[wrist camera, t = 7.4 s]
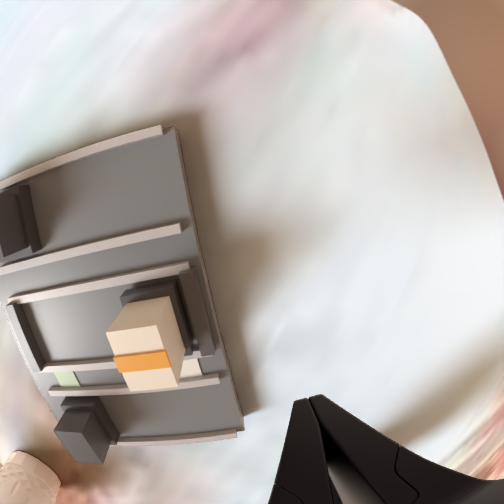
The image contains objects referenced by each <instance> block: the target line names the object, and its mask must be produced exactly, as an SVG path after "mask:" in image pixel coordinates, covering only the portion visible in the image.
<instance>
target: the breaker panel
mask: <svg viewBox="0 0 504 504" xmlns="http://www.w3.org/2000/svg"><path fill="white" fill-rule="evenodd" d="M175 280H176V281H177V284H178V288H179V292H180V296H181V300H182V303H183V307H184V311H185V314H186V318H187V321H188V325H189V328H190V332H191V335H192V339H193V342H194V349H193V355H190V356H184V359H183V364H182V369H181V374H180V379H179V385H178V387H173V388H164V389H154V390H143V391H131V392H130V390H129V388H128V386H127V383H126V381H125V379H124V377H123V374H122V373H119V371H118V369H117V367H116V364H115V362H114V359H113V357H114V356H115V355H114V353H113V350H112V348H111V345H110V343H109V340H108V338H107V335H106V331H107V330H108V328H109V327H110V326H111V324H112V323H113V321H114V320H115V319H116V317H117V316H118V315H119V313H120V312H121V310H122V309H123V307H122V304H121V300H120V296H121V295H122V294H123V292H124V291H125V290H126V289H132V288H137V287H143V286H148V285H153V284H159V283H164V282H169V281H175ZM0 303H1V306H2V309H3V311H4V314H5V317H6V319H7V322H8V324H9V327H10V329H11V332H12V334H13V337H14V339H15V341H16V344H17V346H18V348H19V350H20V353H21V355H22V357H23V359H24V361H25V363H26V365H27V367H28V369H29V371H30V373H31V375H32V377H33V379H34V381H35V383H36V385H37V387H38V389H39V391H40V392H41V394H42V396H43V398H44V399H45V401H46V403H47V405H48V406H49V408H50V410H51V411H52V413H53V415H54V416H55V418H56V420H57V421H58V424H57V426H56V427H55V429H54V432H55V434H56V435H57V437H58V438H59V440H60V441H61V442H62V444H63V445H64V447H65V448H66V449H67V451H68V452H69V454H70V455H71V456H72V458H73V459H74V460H75V462H82V463H93V464H103V463H104V460H105V457H106V454H107V451H108V448H109V446H156V445H175V444H188V443H199V442H208V441H216V440H224V439H231V438H237V431H244V430H245V428H244V419H243V414H242V411H241V407H240V404H239V400H238V397H237V393H236V389H235V386H234V382H233V378H232V375H231V371H230V367H229V364H228V360H227V356H226V352H225V348H224V344H223V340H222V337H221V333H220V329H219V325H218V321H217V317H216V312H215V308H214V304H213V300H212V296H211V292H210V287H209V283H208V279H207V274H206V270H205V265H204V261H203V256H202V252H201V247H200V243H199V238H198V233H197V229H196V224H195V219H194V214H193V209H192V204H191V199H190V194H189V189H188V184H187V178H186V173H185V168H184V162H183V157H182V151H181V146H180V140H179V134H178V130H177V129H176V128H175V127H174V126H173V127H169V128H165V129H163V127H162V126H161V125H157V126H154V127H150V128H146V129H142V130H138V131H135V132H131V133H128V134H124V135H121V136H118V137H114V138H111V139H108V140H105V141H101V142H98V143H95V144H92V145H89V146H86V147H83V148H81V149H78V150H75V151H72V152H69V153H67V154H64V155H61V156H59V157H56V158H53V159H51V160H48V161H46V162H43V163H41V164H38V165H36V166H34V167H31V168H29V169H27V170H24V171H22V172H20V173H17V174H15V175H13V176H11V177H9V178H7V179H4V180H2V181H0Z"/></svg>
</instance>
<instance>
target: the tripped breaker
mask: <svg viewBox="0 0 504 504" xmlns="http://www.w3.org/2000/svg"><path fill="white" fill-rule="evenodd" d="M120 300H121V304H122V307H123V309H122V310H121V312H120V313H119V315H118V316H117V317H116V319H115V320H114V321H113V323H112V324H111V326H110V327H109V328H108V330H107V331H106V335H107V338H108V340H109V343H110V345H111V348H112V350H113V353H114V355H115V356H114V357H113V359H114V362H115V364H116V367H117V369H118V371H119V373H122V374H123V377H124V379H125V381H126V383H127V386H128V388H129V390H130V392H131V391H143V390H154V389H164V388H173V387H178V385H179V379H180V374H181V369H182V364H183V359H184V356H190V355H193V349H194V342H193V339H192V335H191V332H190V328H189V325H188V321H187V318H186V314H185V311H184V307H183V303H182V300H181V296H180V292H179V288H178V284H177V281H176V280H175V281H169V282H164V283H159V284H153V285H148V286H143V287H137V288H132V289H126V290H125V291H124V292H123V294H122V295H121V296H120Z"/></svg>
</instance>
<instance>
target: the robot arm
mask: <svg viewBox="0 0 504 504" xmlns="http://www.w3.org/2000/svg"><path fill="white" fill-rule="evenodd" d="M399 446H400V445H399V444H398V443H396V442H395V441H393V440H391V439H390V438H388V437H386V436H385V435H383V434H382V433H380V432H378V431H377V430H375V429H374V428H372V427H371V426H369V425H367V424H366V423H364V422H363V421H361V420H360V419H358V418H357V417H355V416H353V415H352V414H350V413H349V412H347V411H346V410H344V409H343V408H341V407H340V406H338V405H337V404H335V403H334V402H333V401H331V400H330V399H328V398H327V397H325V396H324V395H322V394H319V395H315V396H311V397H309V399H307V398H304V399H300V400H296V401H294V403H293V408H292V412H291V417H290V421H289V426H288V430H287V434H286V438H285V443H284V447H283V451H282V455H281V459H280V463H279V467H278V471H277V474H276V478H275V482H274V483H275V484H274V485H273V489H272V492H271V496H270V499H269V502H268V504H504V479H500V480H483V479H478V478H474V477H471V476H468V475H465V474H462V473H460V472H457V471H454V470H451V469H449V468H446V467H443V466H441V465H438V464H436V463H434V462H431V461H429V460H427V459H425V458H423V457H421V456H419V455H417V454H415V453H413V452H412V451H410V450H408V449H406V448H405V447H403V446H400V447H399Z"/></svg>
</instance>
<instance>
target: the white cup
mask: <svg viewBox="0 0 504 504" xmlns="http://www.w3.org/2000/svg"><path fill="white" fill-rule="evenodd" d="M60 485H61V482H60V480H59V478H58V476H57V475H56V474H55V473H54V472H53V471H52V470H51V469H50V468H49V467H48V466H47V465H45V464H44V463H43V462H41V461H40V460H39V459H37V458H35V457H33V456H31V455H29V454H28V453H24V452H21V451H15V452H12V454H11V455H10V457H9V458H8V460H7V461H6V463H5V465H3V466H2V467H1V468H0V504H55V503H56V497H57V493H58V490H59V488H60Z"/></svg>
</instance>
